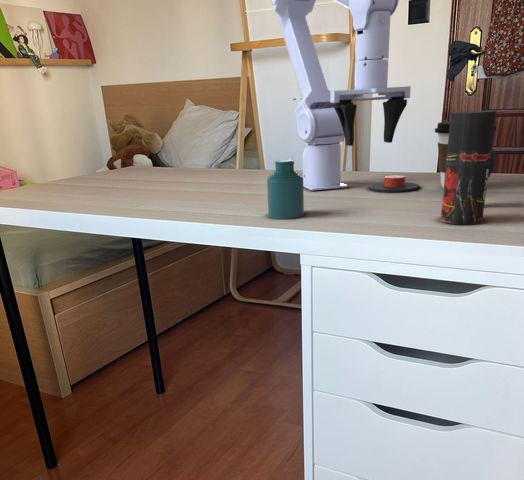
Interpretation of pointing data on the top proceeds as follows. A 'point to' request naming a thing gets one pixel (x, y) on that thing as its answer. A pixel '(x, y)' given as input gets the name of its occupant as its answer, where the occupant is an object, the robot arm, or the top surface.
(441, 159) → the coffee cup
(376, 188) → the coaster
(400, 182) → the cap
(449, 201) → the deodorant
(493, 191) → the top surface
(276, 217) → the bottle
